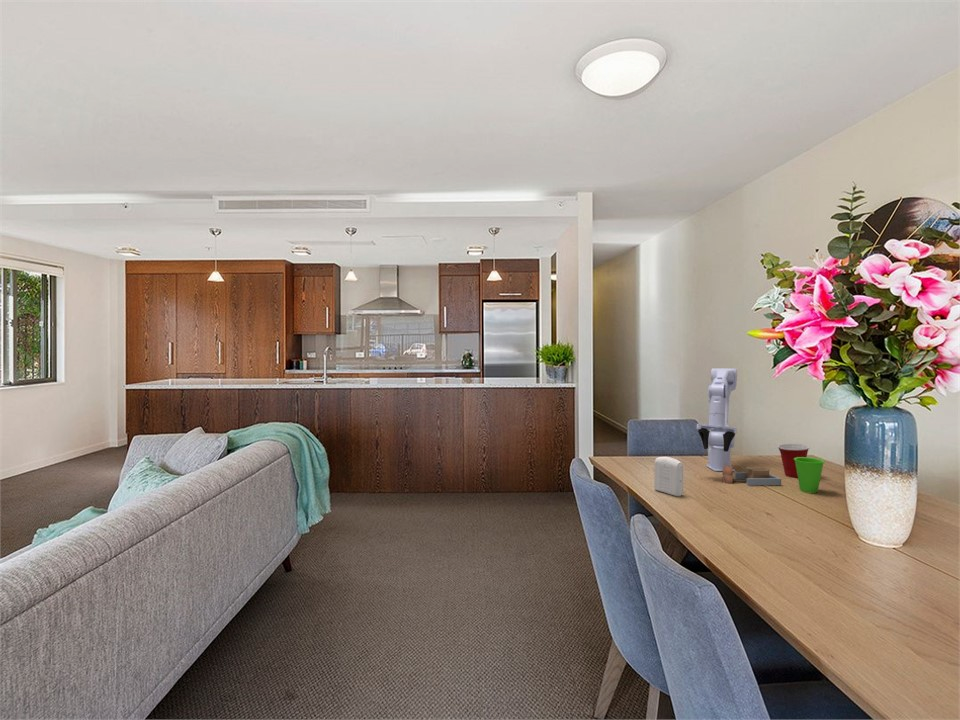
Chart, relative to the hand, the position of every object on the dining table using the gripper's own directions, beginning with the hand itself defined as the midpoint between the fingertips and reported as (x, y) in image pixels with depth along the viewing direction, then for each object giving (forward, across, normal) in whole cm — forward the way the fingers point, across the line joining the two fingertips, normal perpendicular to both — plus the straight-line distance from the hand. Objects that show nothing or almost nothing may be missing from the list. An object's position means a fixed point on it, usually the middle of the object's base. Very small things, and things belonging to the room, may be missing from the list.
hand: (715, 450), depth 193 cm
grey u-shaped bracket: (+10, +14, -2) cm, 18 cm away
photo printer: (+18, -22, -14) cm, 32 cm away
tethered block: (+11, +10, -2) cm, 15 cm away
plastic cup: (+6, +33, +7) cm, 34 cm away
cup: (+11, +26, -14) cm, 32 cm away
